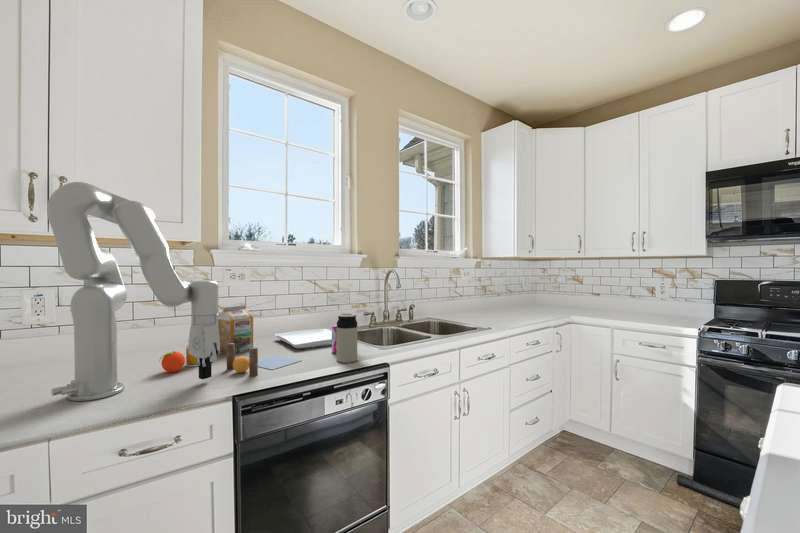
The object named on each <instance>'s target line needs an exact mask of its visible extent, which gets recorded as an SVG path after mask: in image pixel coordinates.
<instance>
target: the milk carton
mask: <svg viewBox="0 0 800 533" xmlns="http://www.w3.org/2000/svg"><path fill="white" fill-rule="evenodd" d="M218 328H219V338H220V352H221V353H220V352H219V353H220V354H224V353H225V354H224V355H227V344H228V343H235V355H236V354H242V353H246V352H249V349H250V348H254V316H253V314H252V313H251V312H250V310H248V309H247V305H245V304H243V305H234V306H233V305H232V306H223V307H222V311H221V312H220V313H218ZM241 352H242V353H241Z"/></svg>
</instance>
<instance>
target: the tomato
mask: <svg viewBox="0 0 800 533" xmlns="http://www.w3.org/2000/svg"><path fill="white" fill-rule="evenodd" d="M160 360H161V368H162V369H163V370H164V371H166V372H167V373H176V372H178V371H180V370H181V369H182V368H183V367H184V366H185V365H186V357H185V356H184V354H183V353H181V352H179V351H174V350H173V351H170V352H167V353H164V354H163V355H162V356H161V357H160V358H159V360H158V362H160Z"/></svg>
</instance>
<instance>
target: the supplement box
mask: <svg viewBox="0 0 800 533" xmlns="http://www.w3.org/2000/svg"><path fill="white" fill-rule="evenodd" d="M331 330H332V345H331V354H334V355H335V354H336V355H337V324H334V325H333V326H331Z"/></svg>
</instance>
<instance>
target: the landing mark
mask: <svg viewBox="0 0 800 533" xmlns="http://www.w3.org/2000/svg"><path fill="white" fill-rule="evenodd" d="M302 361H303V360H301V359H297V358H292V357H287V356H282V355H278V354H277V355H272V356H269V357H266V358H262V359H258V368H261V369H265V368H266V370H271V371H274V370H277V369H280V367H281V368H283V367H287V366H290V365H293V363H294V364H297V363H300V362H302ZM296 362H297V363H296Z"/></svg>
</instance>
